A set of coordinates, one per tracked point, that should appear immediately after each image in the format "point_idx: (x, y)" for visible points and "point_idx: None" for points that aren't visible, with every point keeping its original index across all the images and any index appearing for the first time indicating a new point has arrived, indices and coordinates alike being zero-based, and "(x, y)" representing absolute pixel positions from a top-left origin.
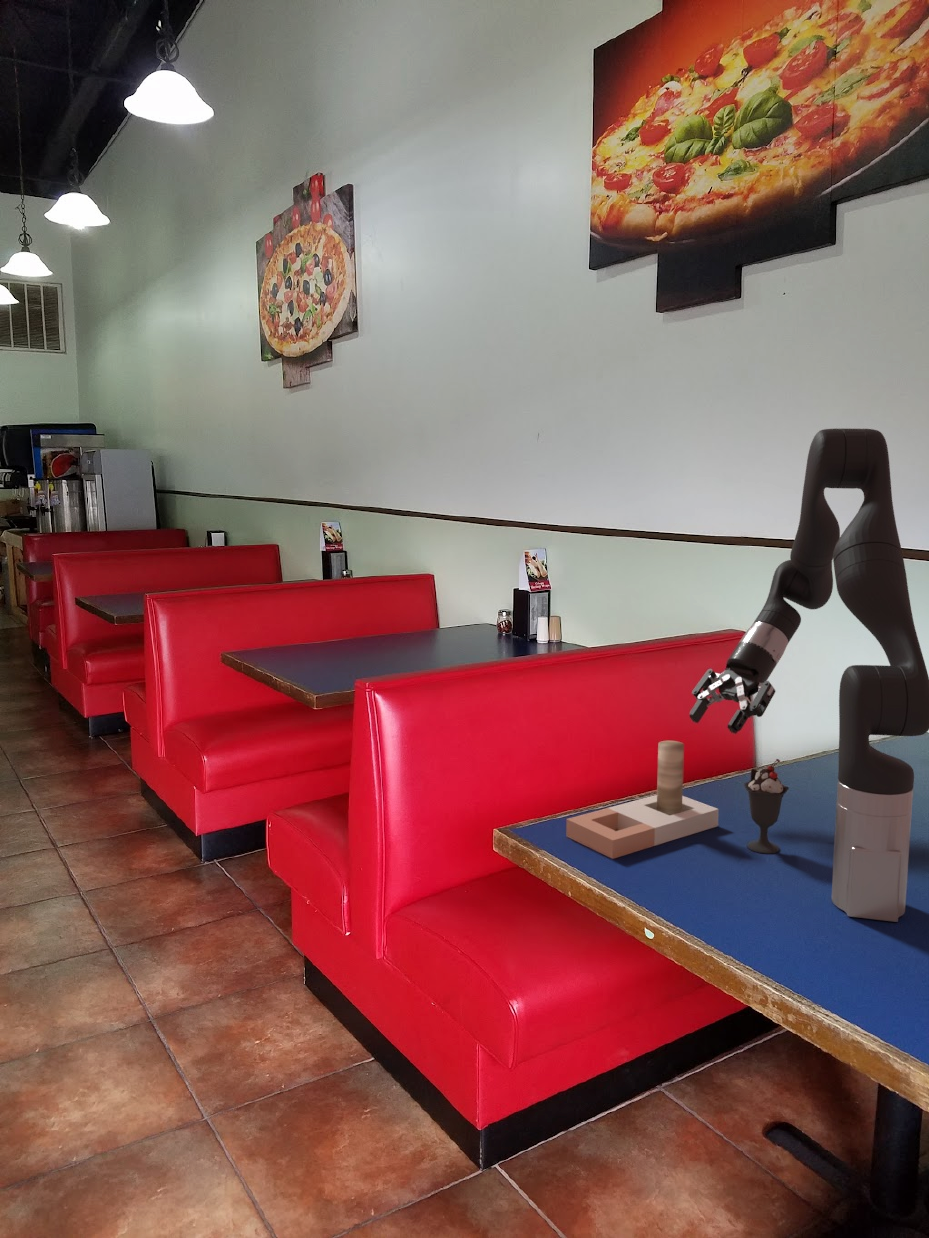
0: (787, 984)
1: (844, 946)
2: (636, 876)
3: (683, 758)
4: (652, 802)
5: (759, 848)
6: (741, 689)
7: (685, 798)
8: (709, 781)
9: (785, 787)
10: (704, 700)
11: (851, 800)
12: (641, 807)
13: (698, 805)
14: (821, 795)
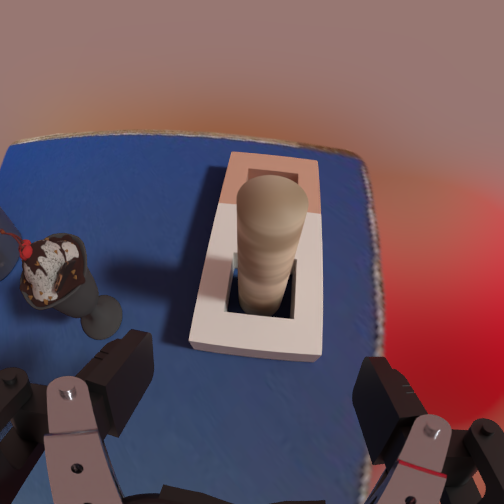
0: (51, 141)
1: (20, 189)
2: (187, 159)
3: (241, 237)
4: (297, 279)
5: (99, 300)
6: (69, 487)
7: (271, 344)
8: None
9: (23, 282)
10: (401, 443)
11: None
12: None
13: (228, 329)
14: None
